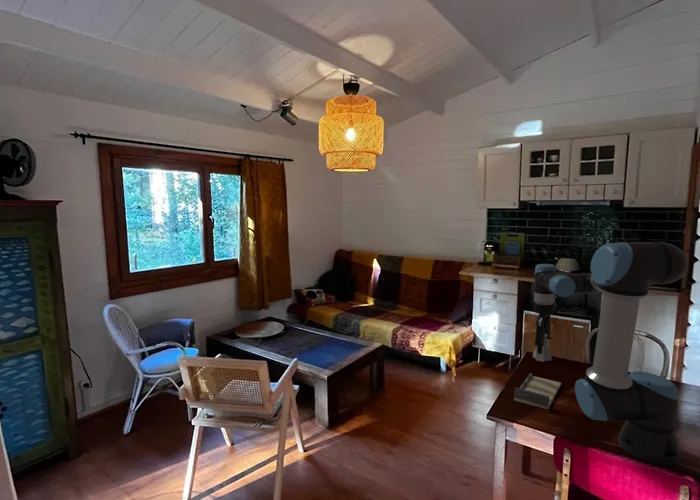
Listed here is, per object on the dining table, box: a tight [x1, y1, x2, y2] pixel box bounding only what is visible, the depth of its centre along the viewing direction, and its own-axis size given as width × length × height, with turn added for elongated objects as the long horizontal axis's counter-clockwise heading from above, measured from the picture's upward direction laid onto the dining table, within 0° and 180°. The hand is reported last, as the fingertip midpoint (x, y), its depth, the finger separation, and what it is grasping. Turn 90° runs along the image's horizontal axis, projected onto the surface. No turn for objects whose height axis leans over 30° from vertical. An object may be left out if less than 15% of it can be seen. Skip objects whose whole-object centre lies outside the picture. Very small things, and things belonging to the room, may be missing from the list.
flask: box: [532, 334, 553, 362], centre depth 159 cm, size 7×7×10 cm
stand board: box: [513, 372, 562, 410], centre depth 157 cm, size 24×12×5 cm, turn 142°
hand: (542, 357), depth 160 cm, fingers closed on flask, 7 cm apart
